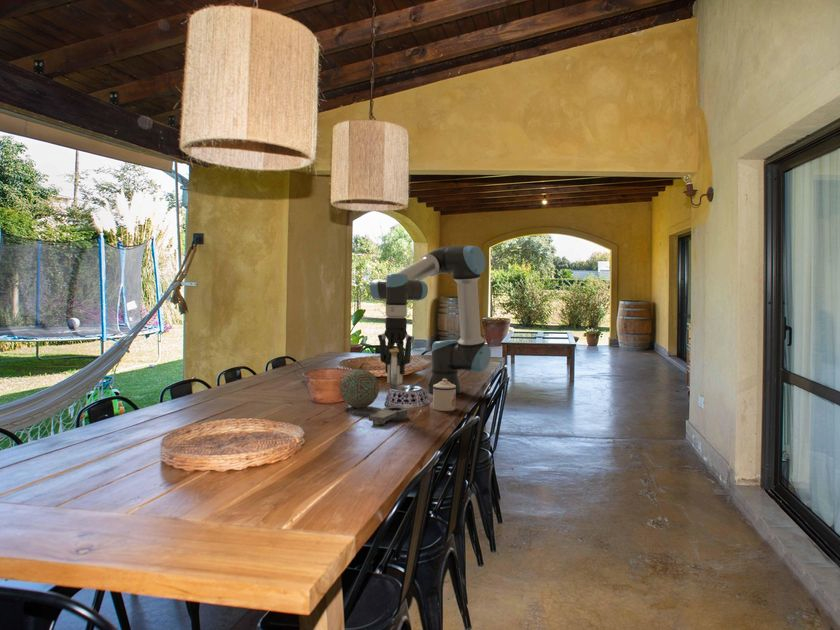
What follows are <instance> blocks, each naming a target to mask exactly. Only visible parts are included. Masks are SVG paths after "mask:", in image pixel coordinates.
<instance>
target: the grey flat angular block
mask: <svg viewBox="0 0 840 630" xmlns="http://www.w3.org/2000/svg"><path fill="white" fill-rule="evenodd" d="M351 412H352V413H351V414H352V416H359V417H360V416H361V417H368V421H369V422H372V426H373V427H384V426H385V422H388V421H390V422H391V421H393V422H396V421H406V420H408V409H407V407H404V406H385V407H383V408H382V409H376V408H367V407H364V408H361V407H360V408H355V409H352V411H351Z"/></svg>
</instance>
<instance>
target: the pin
mask: <svg viewBox="0 0 840 630" xmlns="http://www.w3.org/2000/svg"><path fill="white" fill-rule="evenodd" d="M389 352H390V353H391V363H390V364H391V370H390V383H389V389H390V390H399V389H400V384H397V365H398V364H399V357H398V353H399V349H397V347H394V348H392V349H389Z"/></svg>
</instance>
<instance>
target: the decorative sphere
mask: <svg viewBox="0 0 840 630" xmlns="http://www.w3.org/2000/svg"><path fill="white" fill-rule="evenodd" d="M340 381H341V382H340V385H339V392H340V396H341V399H343V401H344V402H345V404H346V405H348V406H350V407H352V408H355V409H357V408H360V407H361V408H367V407H369V406H371V405H372V404H373V403H374V402H375V401H376V400H377V398H378V396H379V394H380V393H379V392H380V385H379V380H378V378H377V377H376V376H375V375H374V373H373V372H371V371H369V370H368V369H365V368H355V369H352V370H350V371H348V372H347V373H345V375H344V376H343V377H342V379H341V380H340Z"/></svg>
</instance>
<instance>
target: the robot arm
mask: <svg viewBox="0 0 840 630" xmlns="http://www.w3.org/2000/svg"><path fill="white" fill-rule="evenodd" d="M485 269H486V259H485V254H484V253H483V251H482V249H481V248H480V247H478V246H476V245H450V246H449V245H448V246H441V247H439V248H437V249H434V250H432V251H430V252H428V253H426V254H423V255H422V256H421V257H420V259H419V260H418V261H416V262H414V263H411V264H410V265H408V266H406V267H404V268H403V269H401V270H399V271H397V272H396V273H388V274H387V275H386V278H384V279H381V278H378V279H373V280H372V282H371V283H370V286H369V292H370V295H371V297H372V298H374V299H376V300H381V301H382V300H385V316H386V318H385V324H384V325H385V330H384V332H383V333H381V334H378V336H377V337H378V342H379V355H380V362H381V363H384V364H385V371H384V372H385V373H386V374H387V375H386V376H387V379H386V380H387V381H386V383H387V384H390V370H391V353H390V352H389V349H392V348H395V344H396V348H397V349H399V353H398V357H399V364H398V365H397V384H399V385H400V384H403V375H405V370H406V367H405V366H406V365H407V364H410V363H411V357H412V346H413V344H412V343H413V341H414V339H415V337H414V336H413V335H410V334H408V331H407V327H408V325H407V323H408V321H407V320H408V319H407V318H406V317H407V315H408V310H407V309H408V305H407V304H408V301H416V302H418V301H421V300H424V299H425V298H426V297H427V296H428V293H429V289H428V285H427V283H426V282H425V281H423V280H424V279H427V277H434V276H437V275H441V274H446V275H447V274H449V275H450V274H451V275H452V280H453V281H455V282H456V288H457V290H456V291H457V303H458V316H459V320H458V321H459V330H460V331H459V333H460V334H459V335H460V338H459V339H447V340H438V341H434V342H433V343H432V345H431V346H432V347H431V375H430V378H429V381H428V383H427V392H428V393H429V394H433V385H434V384H437V383H439V382H441V381H442V379H447V381H448V382H450V383H451V384H454V385H456V395H459V394H461V393H462V385H461V382H460V378H459V374H458V373H459V371H463V372H464V371H465V372H471V373H481V372H484V371H486V369H487V368H488V366H489V364H490V362H491V359H492V358H491V357H492V350H491V348H490V346H488V345H486V342H485V338H483V337H482V335H481V321H480V320H481V318H480V305H479V304H480V303H479V289H478V288H479V287H478V281H479V280H480V279H481V274H483V273H484V271H485ZM386 339H387V340H386ZM404 341H405V343H404ZM404 345H405V346H404Z"/></svg>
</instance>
